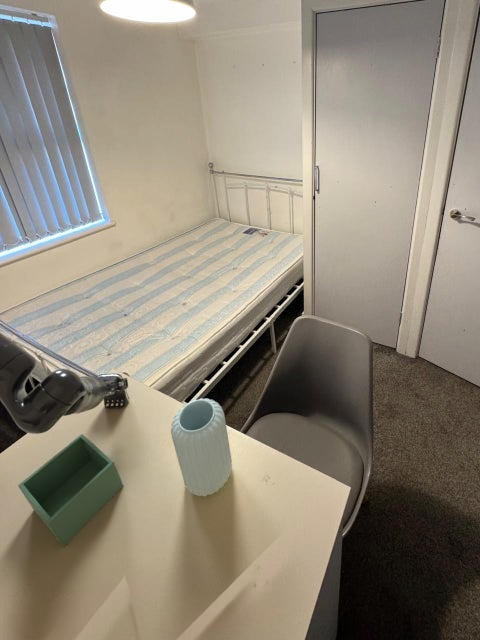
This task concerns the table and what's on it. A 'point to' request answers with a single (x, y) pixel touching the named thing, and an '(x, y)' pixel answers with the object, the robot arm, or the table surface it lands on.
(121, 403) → the battery charger
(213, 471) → the vase
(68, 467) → the bin
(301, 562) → the table surface
